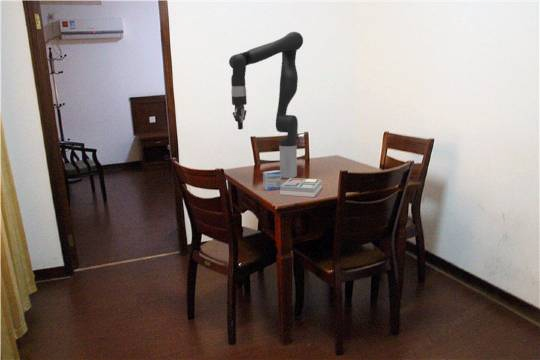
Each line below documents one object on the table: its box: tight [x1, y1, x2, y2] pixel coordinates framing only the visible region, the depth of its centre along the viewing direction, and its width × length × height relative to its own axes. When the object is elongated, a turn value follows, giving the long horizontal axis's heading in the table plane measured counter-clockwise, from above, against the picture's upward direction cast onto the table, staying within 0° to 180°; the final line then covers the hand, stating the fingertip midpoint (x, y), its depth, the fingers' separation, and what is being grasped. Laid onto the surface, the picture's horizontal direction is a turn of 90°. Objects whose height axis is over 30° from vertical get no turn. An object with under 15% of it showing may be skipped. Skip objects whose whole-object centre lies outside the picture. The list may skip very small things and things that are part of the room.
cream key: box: [305, 178, 318, 183], centre depth 192 cm, size 5×5×2 cm
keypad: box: [279, 177, 323, 198], centre depth 191 cm, size 16×16×4 cm
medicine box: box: [262, 169, 282, 192], centre depth 196 cm, size 8×4×9 cm, turn 114°
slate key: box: [285, 182, 298, 187], centre depth 188 cm, size 5×5×2 cm
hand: (240, 129), depth 210 cm, fingers closed
